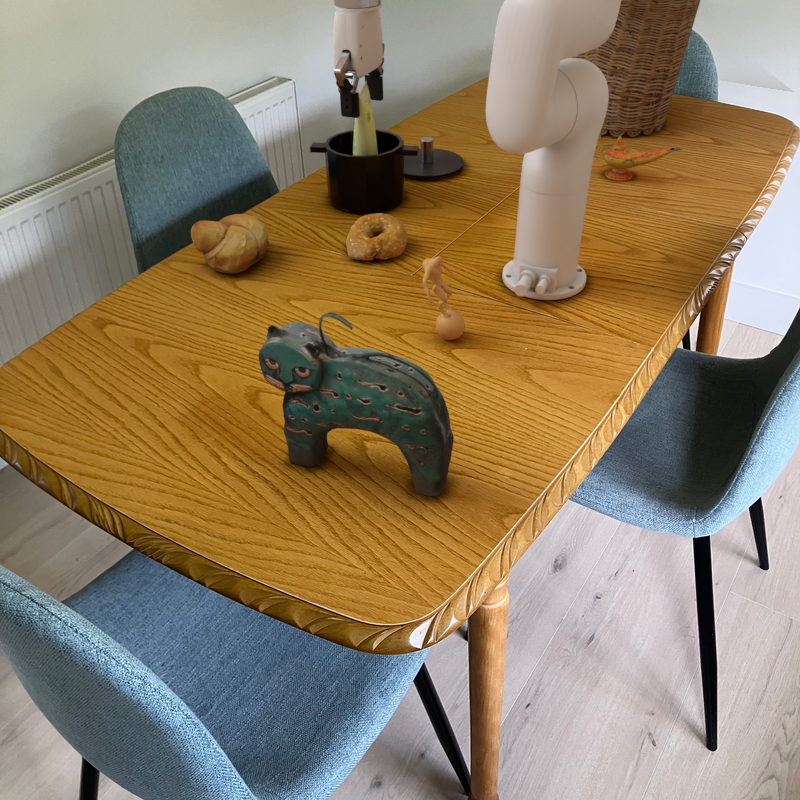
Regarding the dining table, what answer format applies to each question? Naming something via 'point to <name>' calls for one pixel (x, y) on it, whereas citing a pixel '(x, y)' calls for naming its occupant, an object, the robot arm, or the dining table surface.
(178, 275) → the dining table surface
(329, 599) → the dining table surface
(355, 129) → the tube
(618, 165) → the magic lamp
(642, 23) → the wicker basket
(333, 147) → the pot
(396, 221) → the bagel
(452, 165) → the pot lid
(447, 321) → the figurine
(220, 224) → the bread roll
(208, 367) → the dining table surface
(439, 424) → the ceramic cat
